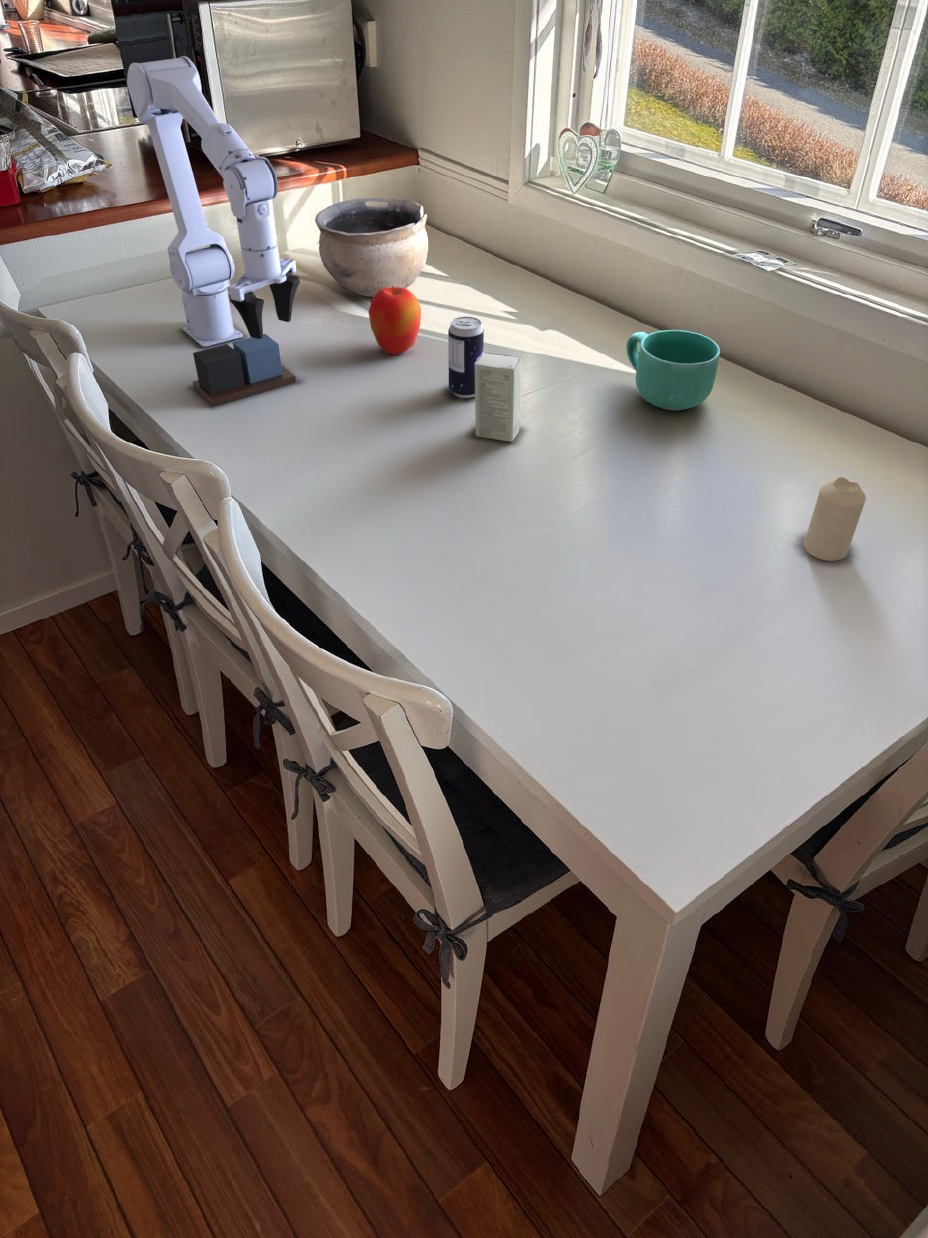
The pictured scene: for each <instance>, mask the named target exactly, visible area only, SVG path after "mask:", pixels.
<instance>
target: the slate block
mask: <svg viewBox="0 0 928 1238" xmlns="http://www.w3.org/2000/svg"><path fill="white" fill-rule="evenodd" d="M232 347H233V348H232V349H234V350H235V351H236V352H237V353H238V354H240V359H241V365H242V371H243V377H244V379H245V380H247V381H248V382H249V383H250V384H252V383H255V382H259V381H262V380H266V379H269V378H273V377H276V376H280V375H283V373H282V366H283V365H282V360H281V358H282V357H281V352H280V345H279V343H278V342H276V340H274V339H273V338H271V337H270V336H269V335H268V334H266V333H263V337H262V338H261V339H257V338H253V337H247V338H243V339H239V340H236V341H233V342H232ZM281 365H282V366H281Z"/></svg>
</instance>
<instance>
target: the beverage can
mask: <svg viewBox="0 0 928 1238" xmlns="http://www.w3.org/2000/svg"><path fill="white" fill-rule="evenodd" d="M447 331H448V333H447V334H448V335H447V337H448V338H447V339H448V342H447V344H448V346H447V347H448V348H447V349H448V351H447V352H448V354H447V355H448V356H447V357H448V358H447V359H448V390H449V391H450V392H451V393H453V395H454V396H455V397H458V398H461V399H470V398H475V363H476V361H477V360H478V359H479V357H480V356H481V355H482V354H483V353H484V349H485V348H484V344H485V329H484V327H483V326H482V321H481V320H480V319H479V318H477V317H473V316H458V317H455V318H453V319H452V320H451V321H450V326H449V327H448V330H447Z"/></svg>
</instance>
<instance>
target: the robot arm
mask: <svg viewBox="0 0 928 1238" xmlns="http://www.w3.org/2000/svg"><path fill="white" fill-rule="evenodd" d="M200 77H201V76H200V74H199V71H198V69H197V66H196V65H195V64H194V62H193V61H192V60H191V58H189V57H188V56H185V55H182V56H179V57H175V58H170V59H169V58H168V59H162V60H161V59H160V60H155V61H146V62H132V63H131V64H130V65H129V67H128V69H127V78H126V79H127V80H126V84H127V88H128V93H129V96H130V99H131V102H132V107H133V110H134V113H135V115H136V118H137V121H138V122H139V123H140V124H143V125H146V126H147V128H148V131H149V135H150V137H151V141H152V145H153V149H154V151H155V155H156V159H157V161H158V165H159V168H160V172H161V175H162V178H163V182H164V186H165V189H166V193H167V196H168V200H169V203H170V206H171V211H172V213H173V217H174V220H175V224H176V227H177V233H176V235H175V236H174V237H173V239H172V240H171V242H169V244H168V246H167V255H168V259H169V269H170V274H171V277H172V279H173V281H174V283H175V285H176V286H177V288H178V289H180V290H181V300H182V305H183V310H184V316H185V319H186V324H187V325H186V326H184V327H182V330H183V332H185V333H186V334H187V335H188V336H189V337H190V338H191V339H193V340H194V341H195V342H196V343H197V344H199V345H200V346H201V347H203V348H207V347H210V346H213V345H218V344H221V343H225V342H229V341H233V340H236V339H240V338H243V336H244V335H243V333H242V332H240V331H239V330H238V329H237V328H236V327H234V323H233V315H232V310H231V305H232V306H233V307H234V308H235V309H236V311H237V313H238V314H239V315H240V317H241V319H242V322H243V323H244V326H245V328H246V329H247V332H248V334H249V338H251V337H253V338H257V339H261V338H262V337H263V334H264V329H263V309H264V304H265V301H266V300H265V299H263V298H261V297H257V295H256V294H255V292H256V291H259V290H261V289H262V288H264V287H266V286H268V287H269V289H270V292H271V294H272V297H273V302H274V309H275V313H276V316H277V319H278V321H282V322H286V323H290V322H292V312H293V304H294V300H295V297H296V293H297V290H298V288H299V286H300V283H301V280H300V277H299V276H298V275H295V273H297V265H296V260H295V259H291V258H286V257H285V258H283V259H280V253H279V252H280V251H279V245H278V236H277V230H276V221H275V213H274V204H273V199H275V198H277V195H278V191H279V183H278V182H279V181H278V177H277V174H276V171H275V169H274V167H273V165H272V163H271V162H270V160H269V159H268V158H266V157H264V156H260V155H259V154H258V153H252V151H251V150H250V149H249V147H248V146H247V144H246V143H245V141H243V139H242V138H241V137H240V135H239V134H238V132H237V131H236V130H235V129H234V127H233V126H232V125H230V124H229V123H224V122H221V121H220V120H219V119H218V117H217V115H216V113H215V112H214V111H213V109H212V107H211V106H210V104H209V102H208V101H207V99H206V98H205V96H204V94H203V92H202V83H201V82H202V81H201V78H200ZM183 119H184V120H185V121H186V122H187V123H188V124H189V125H190V126H191V128H192V129H194V131H195V132H196V133H197V134H198V135H199V136H200V138H201V142H200V143H201V150H202V152H203V153H204V154H205V156H206V158H208V160H209V161H210V163H211V165H212V166H213V167H214V168H215V170H216V171H217V172H218V174H219V175H220V176H221V177H222V179H223V181H222V184H223V187H224V192H225V194H226V196H227V199H228V201H229V205H230V211H231V212H232V216H233V217H235V218H236V226H237V233H238V239H239V246H240V251H241V258H242V259H241V260H242V265H243V271H244V272H243V273H242V274H241V276H240V277H239V278H238V279H237V280H236V281H235V282H234V283H233V284H232V285H231V283H230V281H232V280H233V278H234V276H235V275H234V274H235V264H234V263H235V262H234V260H233V256H232V254H231V252H230V251H229V249H228V246H227V243H226V241H225V238H224V237H223V235H221V234H220V233H218V232H216V231H214V230H212V229H211V228H209V227H208V224H207V221H206V217H205V212H204V209H203V206H202V205H203V204H202V201H201V198H200V195H199V191H198V187H197V184H196V180H195V176H194V172H193V170H192V165H191V162H190V159H189V158H190V157H189V155H188V151H187V147H186V143H185V140H184V137H183V133H182V129H181V126H182V123H183ZM228 291H229V292H228ZM230 303H231V304H230Z"/></svg>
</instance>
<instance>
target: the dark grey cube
mask: <svg viewBox="0 0 928 1238" xmlns="http://www.w3.org/2000/svg"><path fill="white" fill-rule="evenodd" d="M192 355H193V361H194V367H195V370H196V371H195V372H196V376H197V380H198V381H199V384H200V385H201V386H202V387H203V388H204V389H205V390H206V391H207V392H208V393H210V394H211V395H214V394H217V393H221V392H224V391H228V390H231V389H235V388H238V387H242V386H245V383H244V377H243V371H242V365H241V359H240V354H238V353H237V352H236V351H235V350H234V348H232V347H231V346H230V345H229V344H227V343H225V344H222V345H218V346H214V347H210V348H205V349H201V350H199V351H194V352H192Z"/></svg>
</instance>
